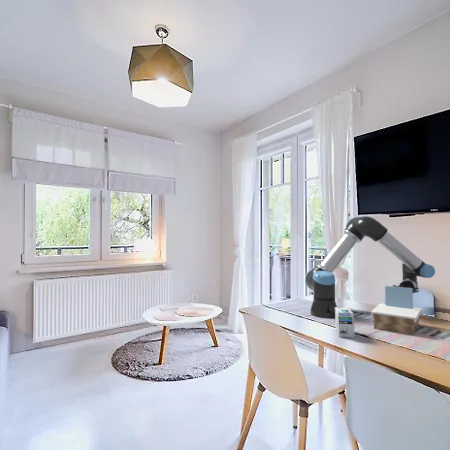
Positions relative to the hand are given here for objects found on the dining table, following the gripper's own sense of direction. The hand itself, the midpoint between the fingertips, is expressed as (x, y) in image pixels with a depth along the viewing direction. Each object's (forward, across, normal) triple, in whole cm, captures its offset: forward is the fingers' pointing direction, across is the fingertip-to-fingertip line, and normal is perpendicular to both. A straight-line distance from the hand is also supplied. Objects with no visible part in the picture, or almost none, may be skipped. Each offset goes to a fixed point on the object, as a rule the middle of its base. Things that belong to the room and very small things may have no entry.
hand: (400, 293), depth 161 cm
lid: (+14, 0, +8) cm, 16 cm away
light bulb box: (+40, -17, +14) cm, 46 cm away
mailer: (+14, 0, +14) cm, 20 cm away
